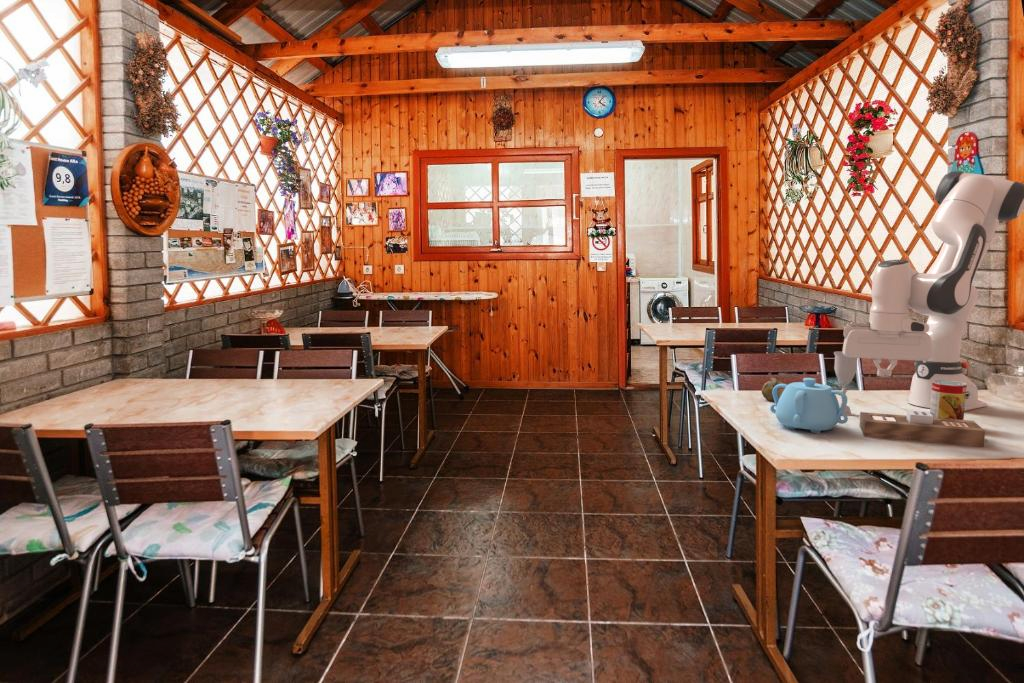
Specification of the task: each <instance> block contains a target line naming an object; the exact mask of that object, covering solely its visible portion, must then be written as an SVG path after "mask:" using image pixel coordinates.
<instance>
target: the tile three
mask: <svg viewBox="0 0 1024 683" xmlns="http://www.w3.org/2000/svg"><path fill="white" fill-rule="evenodd" d="M942 423H943V424H944V425H945V426H957V427H968V426H967V425H966V424H965V423H958V422H945V421H942Z"/></svg>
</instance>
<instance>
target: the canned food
mask: <svg viewBox="0 0 1024 683" xmlns="http://www.w3.org/2000/svg"><path fill="white" fill-rule="evenodd" d="M966 387H967V384H966V383H963V382H959V381H951V380H934V381H932V391H931V403H930V408H929V413H930V414H931V415H932V416H933V418H944V419H957V420H965V411H964V410H965V399H966Z"/></svg>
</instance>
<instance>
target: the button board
mask: <svg viewBox="0 0 1024 683" xmlns="http://www.w3.org/2000/svg"><path fill="white" fill-rule="evenodd" d="M872 416H882V417H894V419H895V420H896V421H897V422H896V421H883V420H873V419H872ZM906 418H907V415H904V414H890V413H877V412H864V411H860V413H859V424H858V425H859V426H858V427H859V428H860V431H861V432H862V435H863V437H866V438H876V439H877V438H878V439H888V440H902V441H913V442H922V443H923V442H924V443H933V444H934V443H935V444H946V445H957V446H968V447H979V448H984V446H985V441H986V440H985V438H986V430H985V429H984V428H983V427H981V426H980V425H979V424H978V423H977V422H975V421H974V420H970V419H964V420H957V419H944V418H933V424H920V423H908V421H907V420H906ZM942 421H945V422H958V423H965V424H966V425H967V426H968V427H957V426H945V425H944V424H943V423H942Z"/></svg>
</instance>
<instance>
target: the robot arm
mask: <svg viewBox="0 0 1024 683" xmlns="http://www.w3.org/2000/svg"><path fill="white" fill-rule="evenodd" d="M934 196H935V197H934V200H935V202H936V204H938V205H939V206H938V207H937V210H936V211H935V213H934V215H933V218H932V220H931V227H932V230H933V233H934V234H935V236H936V237H937V238H938V239H939V240H941V241H942V242H943V244H942V246H941V248H940V250H939V253H938V255H937V257H936V258H935V260H934V262H933V263H932V264H931V266H930V267H929V268H928V270H927V272H926V273H923V272H919V271H917V270H915V269H914V268H912V267H911V266H912V265H911V262H910V261H909V260H906V259H891V260H890V259H889V260H884V261H881V262H879V263H877V265H876V267H875V268H874V271H873V272H874V273H873V276H872V283H871V290H870V291H871V295H870V296H871V299H872V300H871V301H872V302H871V306H870V308H869V317H868V318H869V320H868V322H863V321H862V322H856V321H855V322H854V321H852V322H849V323H847V324H846V325H844V327H843V337H844V339H843V345H842V352H843V354H844V355H845V356H846V357H851V358H857V359H873V364H874V366H875V367H876V369H877V372H876V375H877V376H878V377H892V373H893V372H892V371H893V370H894V368H895V367H896V366H897V365H898V360H900V361H901V360H902V361H915V362H914V370H915V373H914V374H913V375H912V378H911V379H912V380H911V384H910V390H909V395H906V400H907V403H909V404H911V405H913V406H917V407H922V408H928V409H930V403H931V391H932V381H934V380H951V381H959V382H963V383H966V384H967V387H966V399H965V410H964V412H965V411H970V410H974V409H981V408H984V407H987V402H985V401H982V400H978V399H979V389H978V386H977V385H976V384H975V383H974V382H972V380H970V379H969V378H968V377H967V376H966V375H965V374H963V373H964V371H963V369H964V370H968V369H969V368H970V363H969V362H965V361H960V356H961V349H962V348H961V346H962V338H963V333H964V331H965V328H966V324H967V322H968V319H969V317H970V313H971V312H972V310H973V309H974V307H975V306H976V305H977V304H978V301H979V298H980V297H979V291H978V289H977V288H976V287H975V286H974V284H973V280H974V278H975V275H976V272H977V271H978V269H979V268H980V267H981V265H982V262H983V261H984V258H985V256H986V254H987V252H988V249H989V246H990V245H991V242H992V240H993V237H994V235H995V232H996V230H997V226H998V223H999V224H1003V223H1004V222H1009V221H1013V220H1015V219H1017V218H1019V216H1020V215H1021V214H1022V213H1023V212H1024V183H1022V182H1019V181H1016V180H1015V181H1012V180H1009V179H1005V178H1002V177H998V176H996V175H995V176H994V175H985V174H981V173H980V174H979V173H971V172H970V173H969V172H964V171H963V170H962V171H958V170H957V171H956V170H955V171H950V172H948V173H945V175H944V176H943V177H942V178H941V180H940V181H939V182H938V184H937V185H936V189H935V195H934ZM910 310H911V311H913V312H915V313H917V314H919V315H922V316H926V317H928V318H927V321H926V322H923V321H920V320H918V319H915V318H910ZM882 360H888V361H889V362H888V363H890V364H889V365H888V366H887V368H882V367H881V365H880V364H882Z"/></svg>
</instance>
